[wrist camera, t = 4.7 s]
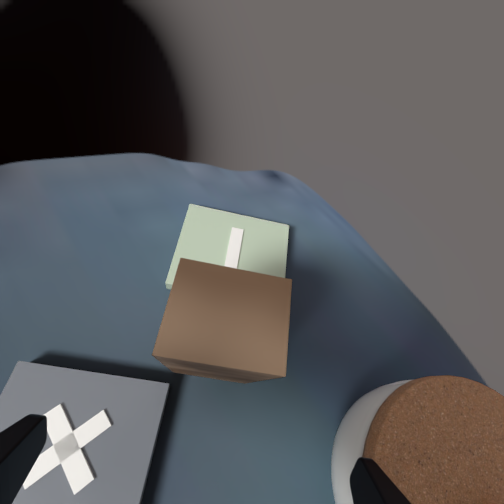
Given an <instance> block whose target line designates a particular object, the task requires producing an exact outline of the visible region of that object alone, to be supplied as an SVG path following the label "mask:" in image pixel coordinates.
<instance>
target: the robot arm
mask: <svg viewBox="0 0 504 504" xmlns="http://www.w3.org/2000/svg"><path fill="white" fill-rule="evenodd" d="M46 440H47V417H46V416H45V415H38V414H29V415H27V416H25V417H23V418H22V419H20V420H19V421H17V422H16V423H14V424H13V425H11V426H9V427H8V428H6V429H5V430H3V431H2V432H0V504H12V503H13V501H14V499H15V498H16V496H17V494H18V492H19V490H20V489H21V487H22V485H23V483H24V482H25V480H26V478H27V476H28V474H29V473H30V471H31V469H32V467H33V466H34V464H35V462H36V460H37V458H38V457H39V455H40V453H41V451H42V449H43V448H44V445H45V443H46ZM350 488H351V493H352V499H353V504H411V503H410V501H409V500H408V499H407V498H406V497H405V496H404V494H403V493H402V492H401V491H400V490H399V489H398V487H397V486H396V485H395V484H394V483H393V482H392V480H391V479H390V478H389V477H388V476H387V475H386V473H385V472H384V471H383V470H382V469H381V468H380V467H379V465H378V464H377V463H376V462H375V461H374V460H373V459H371V458H364V457H359V458H358V459H357V461H356V463H355V465H354V468H353V470H352V472H351V474H350Z"/></svg>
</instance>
